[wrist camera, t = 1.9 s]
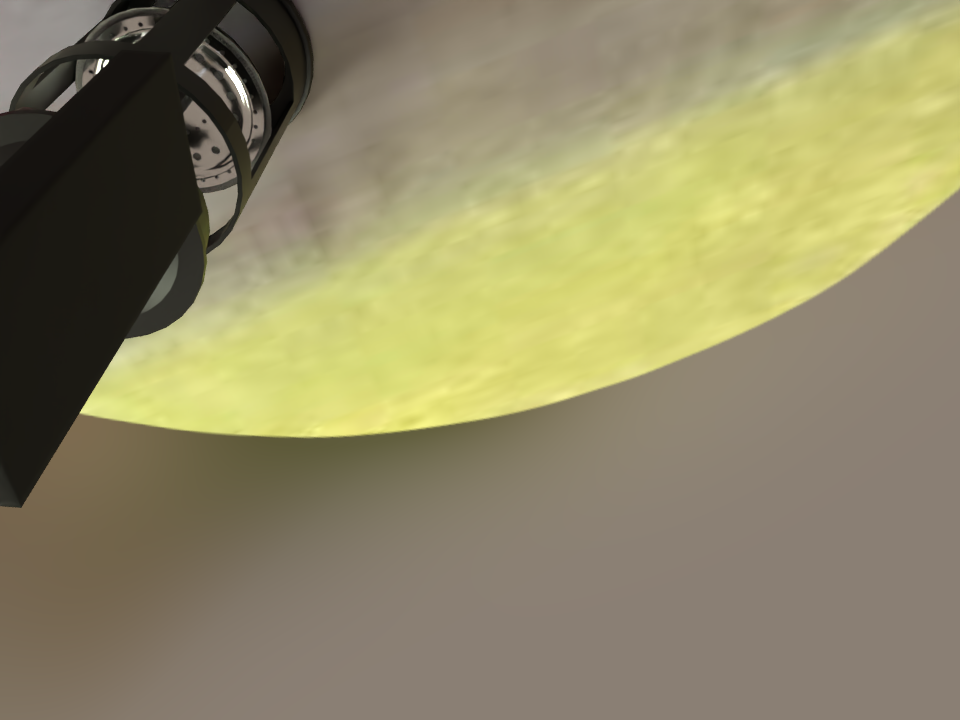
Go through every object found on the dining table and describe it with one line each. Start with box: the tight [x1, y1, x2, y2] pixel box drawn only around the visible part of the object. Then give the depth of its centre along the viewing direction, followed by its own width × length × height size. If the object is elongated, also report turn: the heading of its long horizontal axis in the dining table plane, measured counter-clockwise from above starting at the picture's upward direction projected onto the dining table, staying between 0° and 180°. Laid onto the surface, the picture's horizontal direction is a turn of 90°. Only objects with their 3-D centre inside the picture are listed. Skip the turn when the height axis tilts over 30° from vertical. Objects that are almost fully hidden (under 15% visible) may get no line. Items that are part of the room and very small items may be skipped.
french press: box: [0, 0, 313, 339], centre depth 35 cm, size 12×9×23 cm
